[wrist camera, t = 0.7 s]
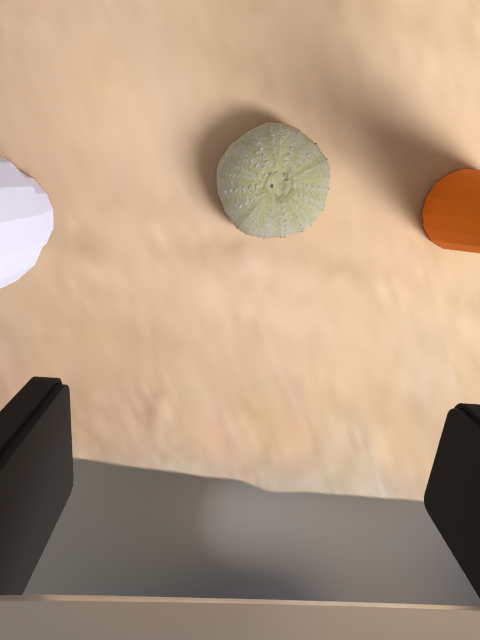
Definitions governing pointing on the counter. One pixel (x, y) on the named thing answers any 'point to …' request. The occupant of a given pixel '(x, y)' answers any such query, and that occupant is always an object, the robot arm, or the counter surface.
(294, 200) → the sea urchin shell
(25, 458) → the robot arm
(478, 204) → the spray bottle
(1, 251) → the soap bottle
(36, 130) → the counter surface
